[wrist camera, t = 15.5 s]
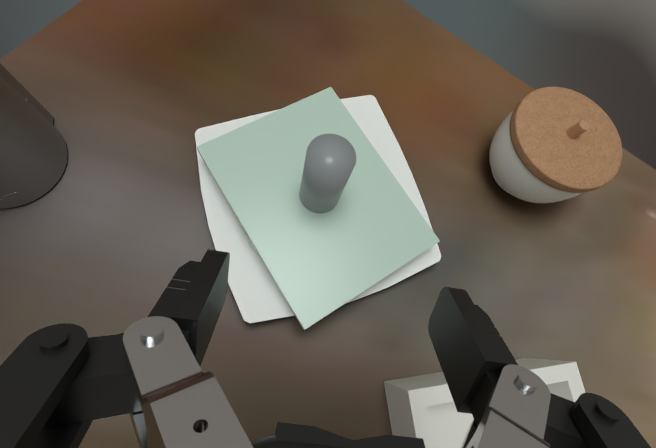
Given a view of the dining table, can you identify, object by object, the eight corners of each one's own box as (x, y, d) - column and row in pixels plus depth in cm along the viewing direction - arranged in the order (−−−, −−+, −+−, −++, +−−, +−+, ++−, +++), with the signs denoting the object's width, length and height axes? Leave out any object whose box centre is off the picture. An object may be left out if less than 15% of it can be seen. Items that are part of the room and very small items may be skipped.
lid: (200, 157, 33) (175, 94, 24) (328, 99, 37) (344, 28, 28) (302, 330, 30) (314, 327, 21) (430, 246, 34) (483, 215, 25)
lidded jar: (571, 216, 39) (657, 181, 31) (481, 218, 38) (545, 181, 29) (547, 130, 43) (619, 76, 34) (463, 129, 41) (515, 71, 32)
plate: (372, 101, 41) (378, 85, 38) (442, 271, 36) (455, 266, 33) (187, 138, 36) (181, 123, 34) (239, 340, 31) (236, 340, 29)
